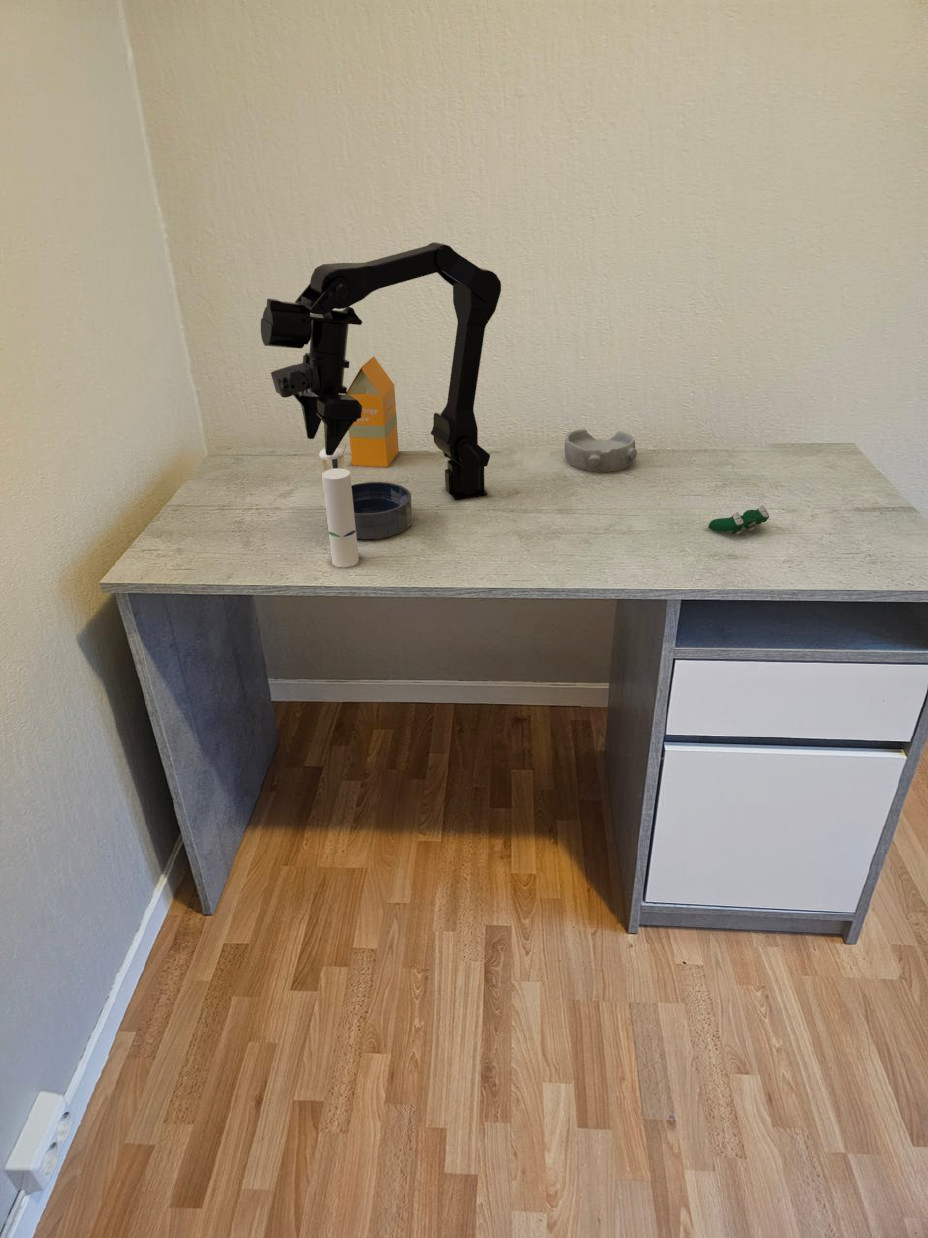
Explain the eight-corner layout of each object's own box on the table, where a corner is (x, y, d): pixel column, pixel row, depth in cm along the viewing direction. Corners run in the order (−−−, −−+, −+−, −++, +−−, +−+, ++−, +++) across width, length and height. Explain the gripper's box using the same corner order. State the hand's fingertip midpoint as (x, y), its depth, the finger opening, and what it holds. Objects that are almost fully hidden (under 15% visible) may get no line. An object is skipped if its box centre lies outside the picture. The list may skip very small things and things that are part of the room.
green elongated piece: (713, 544, 141) (735, 531, 135) (705, 523, 141) (726, 509, 136) (754, 532, 144) (777, 519, 139) (746, 512, 145) (768, 498, 139)
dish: (558, 451, 175) (559, 428, 172) (622, 447, 176) (624, 424, 173) (573, 477, 162) (574, 453, 160) (642, 473, 164) (645, 448, 161)
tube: (332, 555, 136) (322, 469, 129) (359, 554, 137) (350, 467, 129) (331, 568, 133) (320, 479, 125) (358, 566, 133) (349, 478, 125)
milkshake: (347, 500, 156) (342, 448, 151) (320, 498, 157) (314, 447, 152) (355, 490, 160) (350, 440, 154) (328, 489, 161) (322, 438, 155)
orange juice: (399, 451, 177) (393, 356, 166) (387, 467, 170) (380, 367, 159) (364, 450, 178) (355, 354, 168) (351, 465, 171) (341, 366, 161)
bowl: (401, 502, 154) (399, 477, 152) (421, 533, 143) (420, 506, 140) (326, 514, 151) (323, 488, 148) (341, 547, 139) (338, 519, 137)
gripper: (261, 335, 136) (256, 429, 143) (297, 359, 122) (290, 463, 128) (326, 340, 141) (318, 431, 148) (368, 365, 127) (357, 464, 134)
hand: (319, 446), depth 139 cm, fingers open, 9 cm apart
